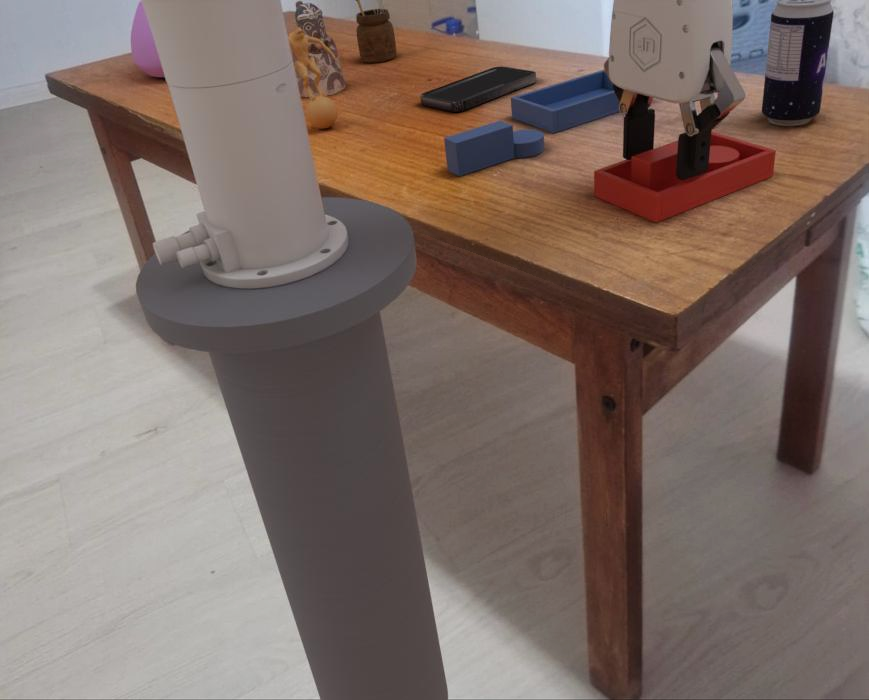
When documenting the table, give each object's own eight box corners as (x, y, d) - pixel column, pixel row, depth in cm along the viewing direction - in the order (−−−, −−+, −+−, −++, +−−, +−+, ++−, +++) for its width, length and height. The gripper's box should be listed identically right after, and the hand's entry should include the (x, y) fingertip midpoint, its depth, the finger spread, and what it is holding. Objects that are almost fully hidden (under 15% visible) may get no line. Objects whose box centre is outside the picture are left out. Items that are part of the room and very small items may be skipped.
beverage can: (819, 128, 84) (836, 4, 77) (759, 128, 86) (772, 7, 79) (818, 110, 88) (834, -9, 81) (761, 110, 90) (773, -6, 83)
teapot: (287, 56, 140) (269, -31, 132) (170, 91, 129) (143, -3, 121) (227, 43, 155) (208, -36, 147) (118, 73, 144) (91, -11, 136)
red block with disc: (656, 205, 72) (658, 166, 70) (623, 191, 75) (623, 153, 73) (748, 169, 76) (752, 131, 74) (712, 158, 79) (715, 121, 77)
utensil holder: (383, 64, 127) (371, -19, 121) (351, 63, 130) (338, -18, 124) (404, 54, 131) (394, -27, 125) (373, 53, 134) (361, -26, 128)
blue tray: (553, 133, 92) (552, 111, 90) (511, 118, 98) (510, 97, 97) (649, 102, 97) (650, 80, 96) (604, 89, 103) (604, 69, 102)
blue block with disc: (464, 179, 83) (460, 145, 82) (442, 168, 87) (438, 135, 85) (552, 149, 88) (551, 116, 86) (528, 140, 91) (526, 108, 89)
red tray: (656, 223, 70) (656, 195, 69) (594, 196, 76) (593, 170, 75) (773, 176, 75) (776, 150, 74) (706, 154, 81) (707, 130, 80)
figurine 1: (303, 101, 115) (284, 11, 109) (291, 90, 121) (273, 4, 114) (351, 90, 117) (335, 1, 110) (337, 79, 123) (322, -6, 116)
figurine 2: (303, 140, 100) (282, 39, 94) (281, 131, 105) (259, 33, 98) (360, 121, 104) (343, 22, 97) (336, 113, 108) (318, 18, 102)
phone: (416, 95, 106) (498, 65, 114) (417, 104, 107) (499, 73, 114) (456, 104, 101) (540, 72, 109) (457, 113, 102) (540, 80, 109)
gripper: (568, -55, 69) (570, 152, 78) (726, -40, 56) (705, 205, 65) (637, -68, 72) (631, 133, 81) (802, -58, 59) (771, 180, 68)
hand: (664, 163), depth 73 cm, fingers open, 6 cm apart
